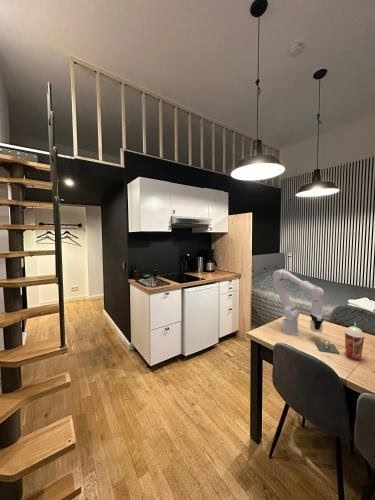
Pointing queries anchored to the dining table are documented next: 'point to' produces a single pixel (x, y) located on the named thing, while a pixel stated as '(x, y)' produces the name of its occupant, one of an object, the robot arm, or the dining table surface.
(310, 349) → the dining table surface
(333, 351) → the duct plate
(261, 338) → the dining table surface
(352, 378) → the dining table surface
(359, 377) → the dining table surface
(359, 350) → the smoothie
